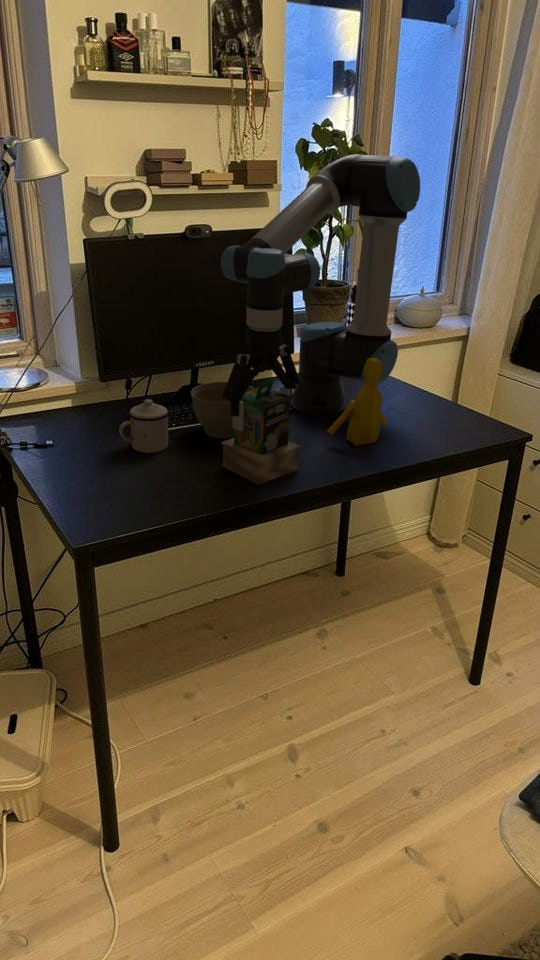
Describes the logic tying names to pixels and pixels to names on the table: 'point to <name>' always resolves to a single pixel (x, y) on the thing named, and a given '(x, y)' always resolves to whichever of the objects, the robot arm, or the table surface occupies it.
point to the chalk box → (264, 419)
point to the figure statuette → (364, 408)
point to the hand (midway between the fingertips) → (261, 422)
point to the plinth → (260, 461)
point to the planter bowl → (213, 409)
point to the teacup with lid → (147, 427)
